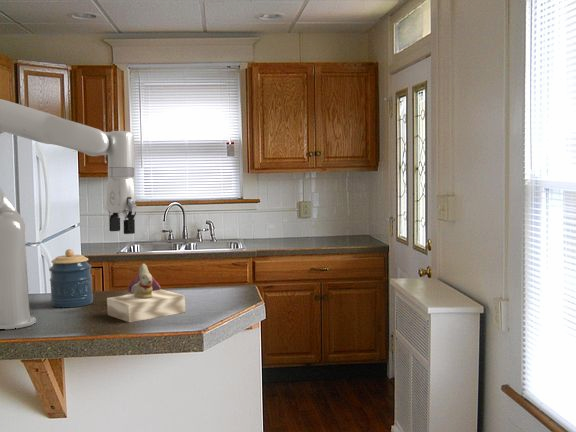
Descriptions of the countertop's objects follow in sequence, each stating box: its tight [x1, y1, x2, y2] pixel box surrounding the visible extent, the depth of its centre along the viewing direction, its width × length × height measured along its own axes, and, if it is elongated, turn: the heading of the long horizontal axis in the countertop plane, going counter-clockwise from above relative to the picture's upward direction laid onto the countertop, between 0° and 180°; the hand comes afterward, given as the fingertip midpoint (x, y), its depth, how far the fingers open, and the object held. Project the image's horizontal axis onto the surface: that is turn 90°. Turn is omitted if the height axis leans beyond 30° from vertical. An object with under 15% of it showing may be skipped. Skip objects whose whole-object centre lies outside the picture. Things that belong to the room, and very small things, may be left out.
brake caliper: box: [125, 272, 162, 295], centre depth 228 cm, size 11×11×12 cm
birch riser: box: [106, 289, 186, 323], centre depth 214 cm, size 18×14×5 cm
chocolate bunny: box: [134, 263, 153, 299], centre depth 213 cm, size 6×8×10 cm
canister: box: [48, 248, 94, 309], centre depth 231 cm, size 13×13×18 cm
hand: (121, 232), depth 213 cm, fingers open, 9 cm apart
